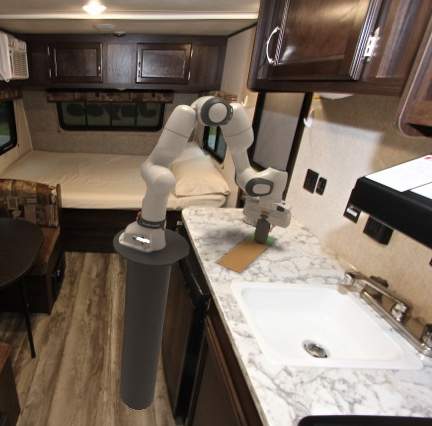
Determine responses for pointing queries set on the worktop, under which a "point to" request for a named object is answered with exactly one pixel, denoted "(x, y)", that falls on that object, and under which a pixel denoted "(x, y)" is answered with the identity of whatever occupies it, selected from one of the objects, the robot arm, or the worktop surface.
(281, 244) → the worktop surface
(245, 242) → the plate
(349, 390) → the worktop surface
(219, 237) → the worktop surface
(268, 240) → the pad
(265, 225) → the bottle
